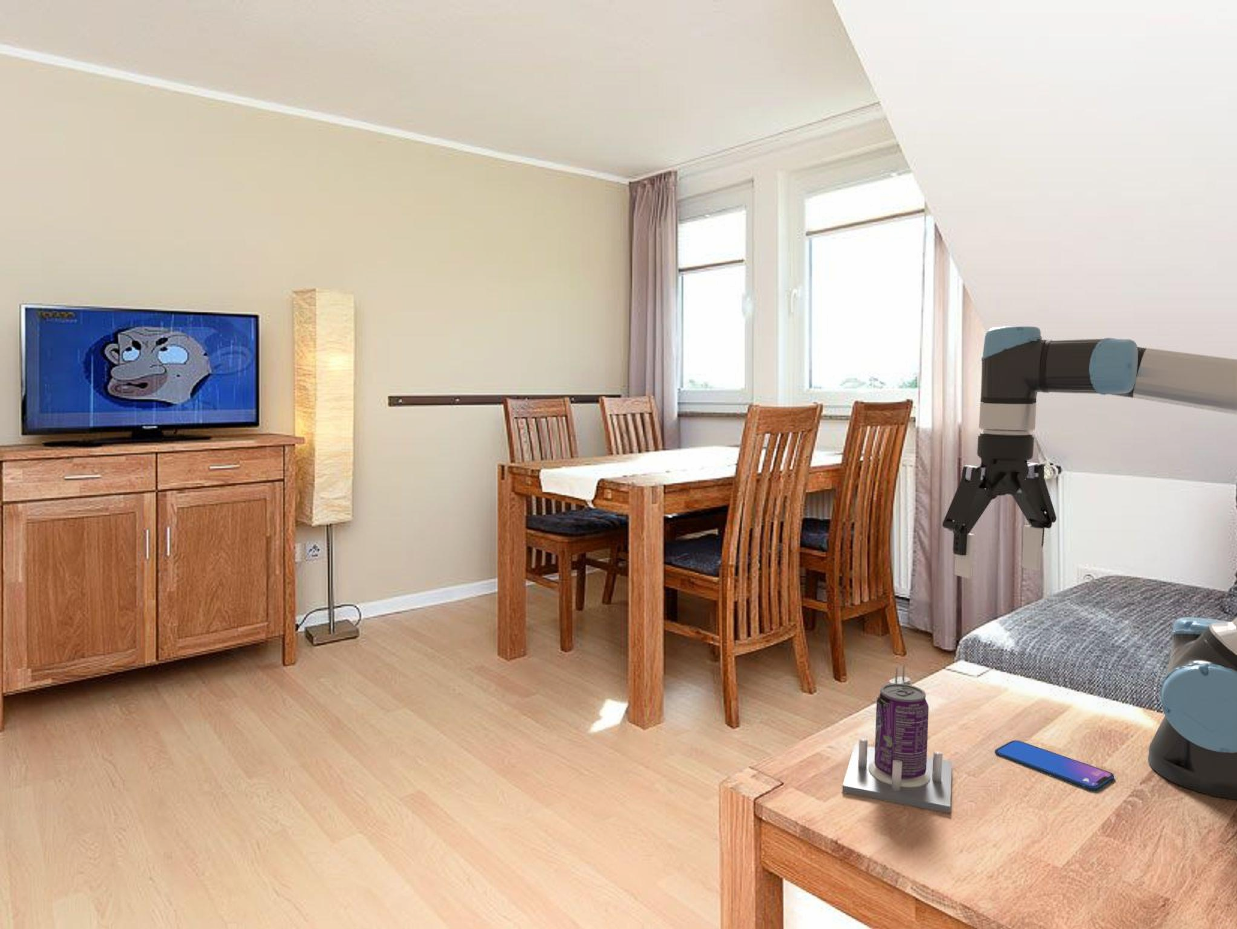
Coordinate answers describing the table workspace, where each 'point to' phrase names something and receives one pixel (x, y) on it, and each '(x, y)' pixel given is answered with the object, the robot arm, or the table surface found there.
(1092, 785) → the smartphone
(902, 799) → the grey peg holder stand
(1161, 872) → the table surface
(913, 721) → the beverage can
